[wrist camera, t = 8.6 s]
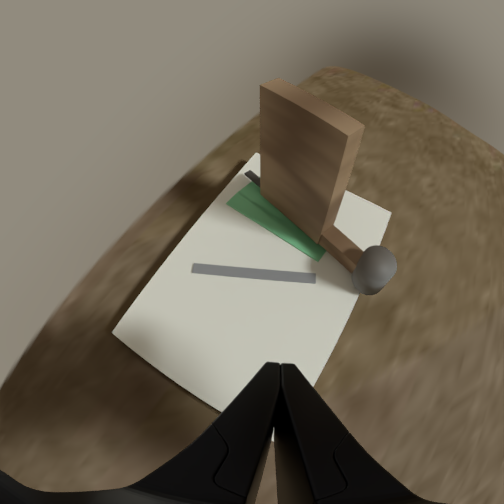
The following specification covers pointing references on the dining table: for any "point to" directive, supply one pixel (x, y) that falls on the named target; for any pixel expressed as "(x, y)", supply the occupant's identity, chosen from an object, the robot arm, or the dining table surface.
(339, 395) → the dining table surface
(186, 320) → the green-marked white board
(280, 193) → the brown slab with knob
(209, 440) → the robot arm
